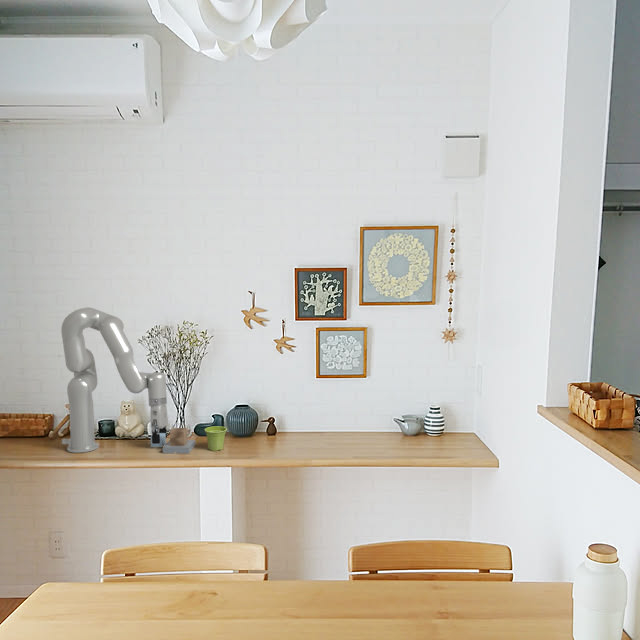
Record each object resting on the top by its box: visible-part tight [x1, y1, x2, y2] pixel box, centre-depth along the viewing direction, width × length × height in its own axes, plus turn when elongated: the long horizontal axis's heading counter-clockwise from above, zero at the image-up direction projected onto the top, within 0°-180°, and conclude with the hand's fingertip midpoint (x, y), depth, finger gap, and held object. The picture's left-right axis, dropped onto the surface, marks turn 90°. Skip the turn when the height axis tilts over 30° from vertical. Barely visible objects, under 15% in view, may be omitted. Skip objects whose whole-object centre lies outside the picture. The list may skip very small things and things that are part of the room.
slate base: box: [162, 439, 196, 454], centre depth 254 cm, size 11×11×2 cm
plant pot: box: [204, 425, 228, 452], centre depth 255 cm, size 9×9×9 cm
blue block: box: [150, 432, 167, 448], centre depth 260 cm, size 5×5×5 cm
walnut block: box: [169, 427, 189, 446], centre depth 254 cm, size 6×6×6 cm
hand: (159, 440), depth 260 cm, fingers open, 9 cm apart
